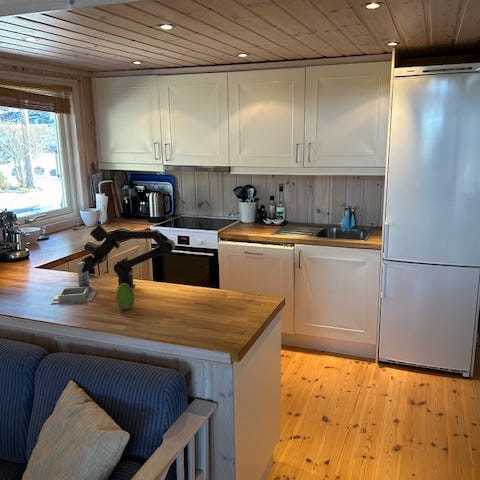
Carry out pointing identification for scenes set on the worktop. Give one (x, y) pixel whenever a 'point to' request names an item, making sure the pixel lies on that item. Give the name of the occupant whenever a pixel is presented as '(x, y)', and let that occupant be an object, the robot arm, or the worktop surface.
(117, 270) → the robot arm
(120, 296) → the avocado
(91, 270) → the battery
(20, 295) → the worktop surface
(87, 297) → the tray
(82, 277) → the big cell
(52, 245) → the worktop surface
